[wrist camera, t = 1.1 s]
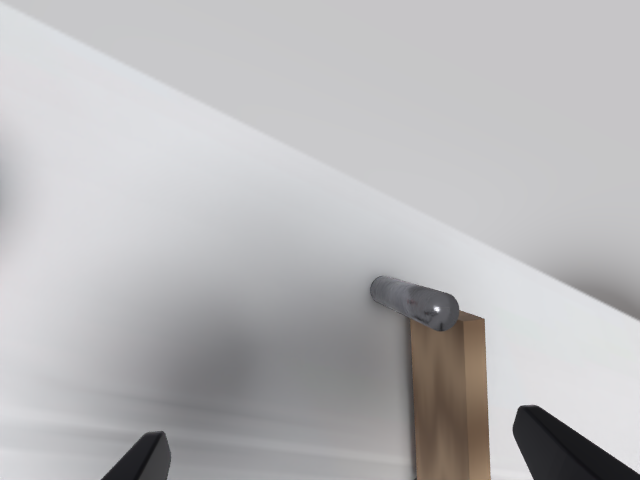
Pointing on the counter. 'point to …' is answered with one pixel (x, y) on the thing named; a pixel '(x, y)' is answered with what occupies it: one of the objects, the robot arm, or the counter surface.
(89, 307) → the counter surface
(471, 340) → the gate leaf
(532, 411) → the robot arm
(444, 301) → the gate frame
